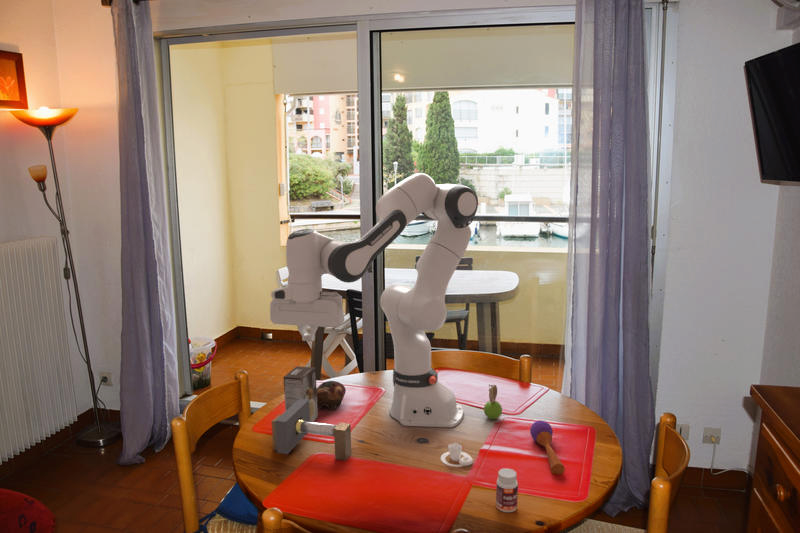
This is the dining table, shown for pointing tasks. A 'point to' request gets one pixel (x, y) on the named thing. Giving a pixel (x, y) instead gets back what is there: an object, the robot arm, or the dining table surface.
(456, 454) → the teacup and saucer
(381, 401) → the dining table surface
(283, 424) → the grey flat block
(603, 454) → the dining table surface
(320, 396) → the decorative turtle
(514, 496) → the pill bottle
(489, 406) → the green feathered ball toy
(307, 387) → the coffee box
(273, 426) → the rod stand
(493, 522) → the dining table surface
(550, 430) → the purple and brown maraca
